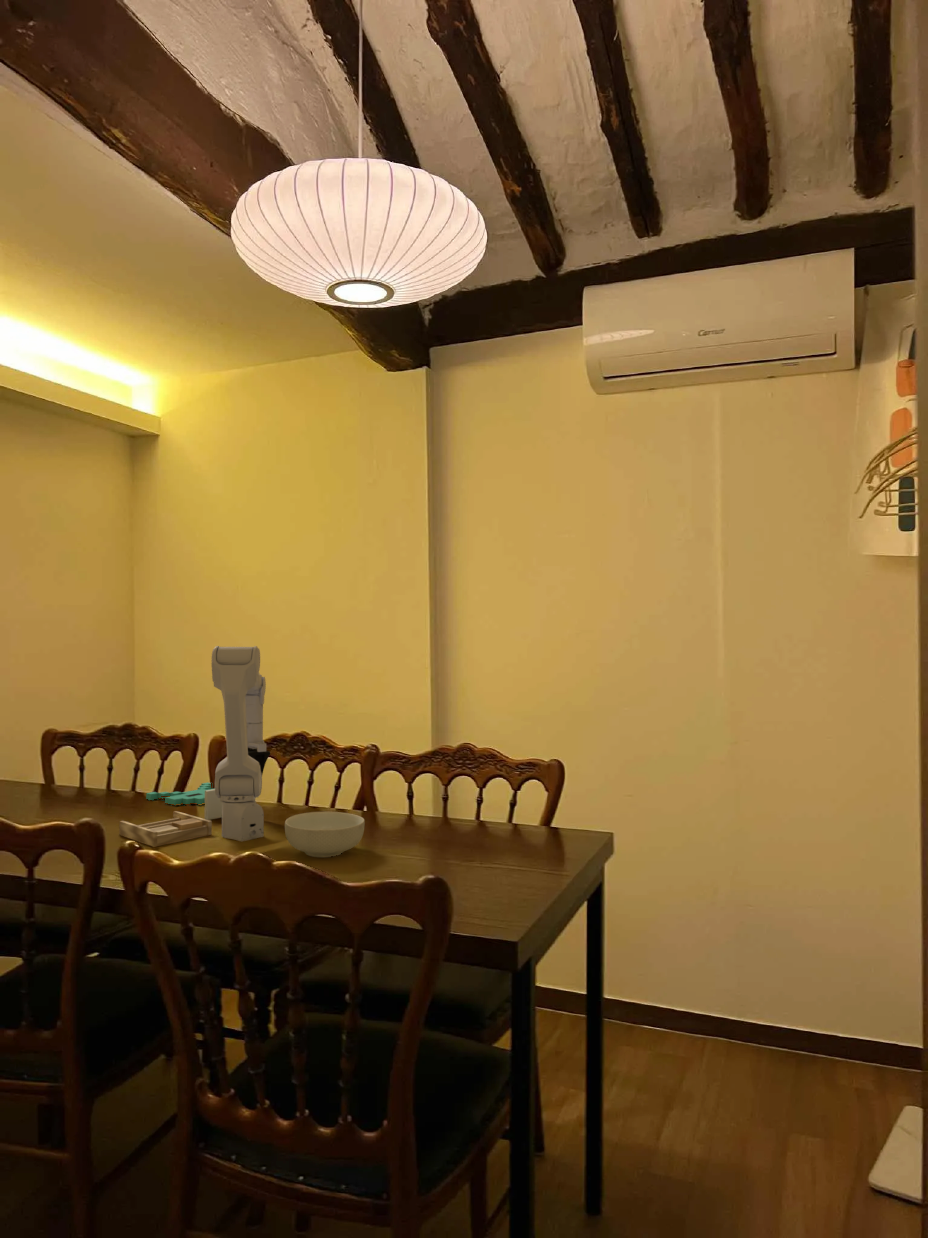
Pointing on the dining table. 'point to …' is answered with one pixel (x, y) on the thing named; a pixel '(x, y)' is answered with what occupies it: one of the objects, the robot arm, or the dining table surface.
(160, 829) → the ash offcut
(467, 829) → the dining table surface
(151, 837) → the rack
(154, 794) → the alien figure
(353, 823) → the cereal bowl
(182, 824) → the oak offcut
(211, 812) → the sheet
